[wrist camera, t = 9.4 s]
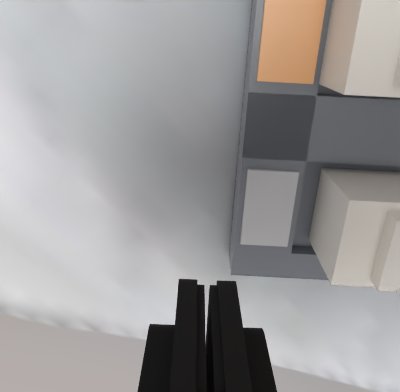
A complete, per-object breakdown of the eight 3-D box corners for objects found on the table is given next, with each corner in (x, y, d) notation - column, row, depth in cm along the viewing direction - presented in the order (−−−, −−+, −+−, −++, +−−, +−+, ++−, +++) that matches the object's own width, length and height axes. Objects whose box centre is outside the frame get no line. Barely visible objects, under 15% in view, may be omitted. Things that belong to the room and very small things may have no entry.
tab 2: (403, 172, 19) (463, 214, 14) (383, 243, 20) (433, 301, 16) (321, 168, 19) (356, 209, 14) (308, 239, 20) (336, 296, 16)
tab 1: (428, -15, 16) (516, -35, 11) (403, 86, 17) (471, 104, 13) (330, -20, 16) (379, -42, 11) (314, 82, 17) (351, 97, 13)
